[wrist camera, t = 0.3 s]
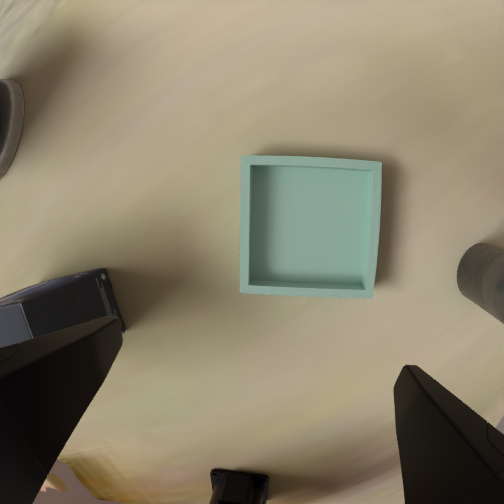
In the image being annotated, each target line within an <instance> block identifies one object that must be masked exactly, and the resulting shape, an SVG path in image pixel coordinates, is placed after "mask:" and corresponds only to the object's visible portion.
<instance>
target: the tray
mask: <svg viewBox="0 0 504 504" xmlns="http://www.w3.org/2000/svg"><path fill="white" fill-rule="evenodd" d="M381 184H382V162H377V161H367V160H355V159H341V158H325V157H303V156H241V199H240V293H245V294H263V295H282V296H306V297H335V298H373V291H374V283H375V274H376V265H377V255H378V243H379V229H380V212H381Z"/></svg>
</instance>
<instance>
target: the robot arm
mask: <svg viewBox="0 0 504 504" xmlns="http://www.w3.org/2000/svg"><path fill="white" fill-rule="evenodd" d="M122 342H123V338H122V330H121V322H120V320H119V319H118V318H116V317H112V316H105V317H102V318H98V319H95V320H92V321H89V322H85V323H82V324H79V325H76V326H72V327H69V328H66V329H63V330H59V331H56V332H53V333H49V334H46V335H43V336H39V337H36V338H33V339H29V340H26V341H22V342H20V343H15V344H12V345H9V346H5V347H1V348H0V504H32V503H33V502H34V499H35V498H36V496H37V494H38V492H39V490H40V489H41V487H42V485H43V483H44V481H45V479H46V478H47V475H48V474H49V472H50V470H51V468H52V467H53V464H54V463H55V461H56V459H57V458H58V456H59V454H60V453H61V451H62V449H63V447H64V446H65V444H66V442H67V441H68V439H69V437H70V436H71V434H72V432H73V431H74V429H75V427H76V426H77V424H78V422H79V421H80V419H81V417H82V416H83V414H84V412H85V411H86V409H87V408H88V406H89V404H90V403H91V401H92V400H93V398H94V396H95V395H96V393H97V392H98V390H99V388H100V387H101V385H102V384H103V382H104V380H105V378H106V376H107V375H108V372H109V370H110V368H111V366H112V364H113V362H114V360H115V358H116V356H117V354H118V352H119V350H120V348H121V346H122ZM394 405H395V422H396V434H397V441H398V447H399V454H400V462H401V470H402V478H403V487H404V498H405V504H504V434H502V433H501V432H500V431H498V430H497V429H496V428H495V427H493V426H492V425H491V424H490V423H487V421H486V420H485V419H483V418H482V417H481V416H480V415H478V414H477V413H476V412H475V411H473V410H472V409H471V408H470V407H468V406H467V405H466V404H465V403H463V402H462V401H461V400H460V399H458V398H457V397H456V396H455V395H453V394H452V393H451V392H450V391H448V390H447V389H446V388H445V387H443V386H442V385H441V384H440V383H438V382H437V381H436V380H435V379H433V378H432V377H431V376H429V375H428V374H427V373H426V372H424V371H423V370H422V369H421V368H419V367H418V366H416V365H405V366H404V367H403V368H402V370H401V372H400V374H399V376H398V379H397V381H396V383H395V385H394ZM210 475H211V483H212V490H213V494H212V497H211V500H210V503H209V504H266V501H267V491H268V482H269V477H268V476H266V475H255V474H246V473H237V472H229V471H222V470H216V469H213V470H211V473H210Z"/></svg>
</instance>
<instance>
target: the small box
mask: <svg viewBox="0 0 504 504" xmlns="http://www.w3.org/2000/svg"><path fill="white" fill-rule="evenodd" d="M105 316H112V317H116V318H118V319H119V320H120V322H121V330H122V334H123V333H124V332H125V327H124V324H123V322H122V319H121V316H120V314H119V311H118V308H117V305H116V302H115V298H114V295H113V292H112V287H111V285H110V282H109V278H108V276H107V273H106V270H105V268H101V269H96V270H92V271H87V272H82V273H78V274H74V275H70V276H65V277H61V278H57V279H53V280H49V281H46V282H42V283H38V284H35V285H32V286H29V287H27V288H24V289H22V290H19V291H17V292H14V293H12V294H9V295H7V296H4V297H2V298H0V348H1V347H5V346H9V345H12V344H15V343H20V342H22V341H26V340H29V339H33V338H36V337H39V336H43V335H46V334H49V333H53V332H56V331H59V330H63V329H66V328H69V327H72V326H76V325H79V324H82V323H85V322H89V321H92V320H95V319H98V318H102V317H105Z"/></svg>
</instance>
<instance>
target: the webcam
mask: <svg viewBox="0 0 504 504" xmlns="http://www.w3.org/2000/svg"><path fill="white" fill-rule="evenodd" d="M23 116H24V100H23V94H22V91H21V88H20V86H19V85H18V84H17V83H16V82H15V81H12V80H8V79H0V179H1V177H2V176H3V175H4V174H5V172H6V171H7V169H8V167H9V166H10V163H11V161H12V159H13V157H14V154H15V151H16V149H17V146H18V142H19V139H20V135H21V130H22V125H23Z"/></svg>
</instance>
